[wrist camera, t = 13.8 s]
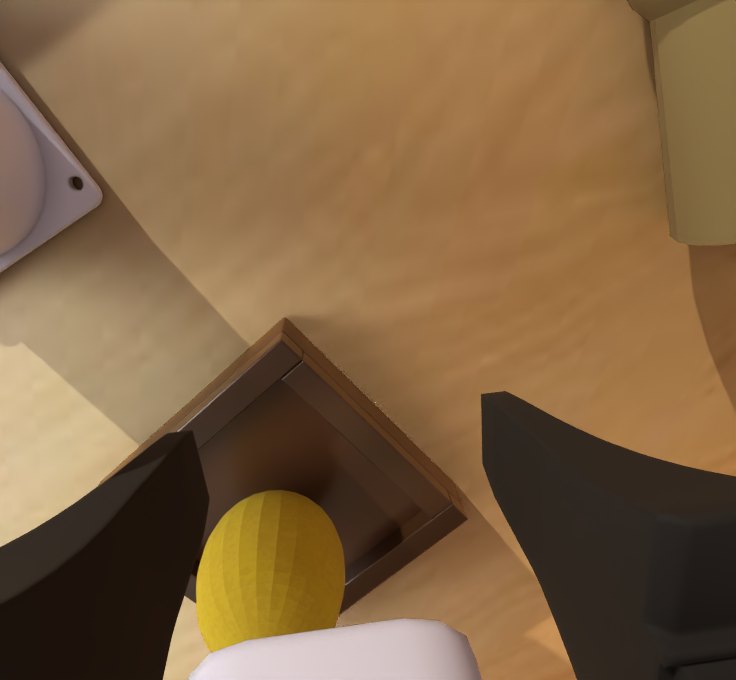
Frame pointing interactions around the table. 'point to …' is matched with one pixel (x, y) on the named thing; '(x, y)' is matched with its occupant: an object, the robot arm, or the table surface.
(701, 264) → the table surface
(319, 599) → the lemon
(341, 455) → the tray
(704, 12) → the cork
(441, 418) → the table surface
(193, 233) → the table surface
